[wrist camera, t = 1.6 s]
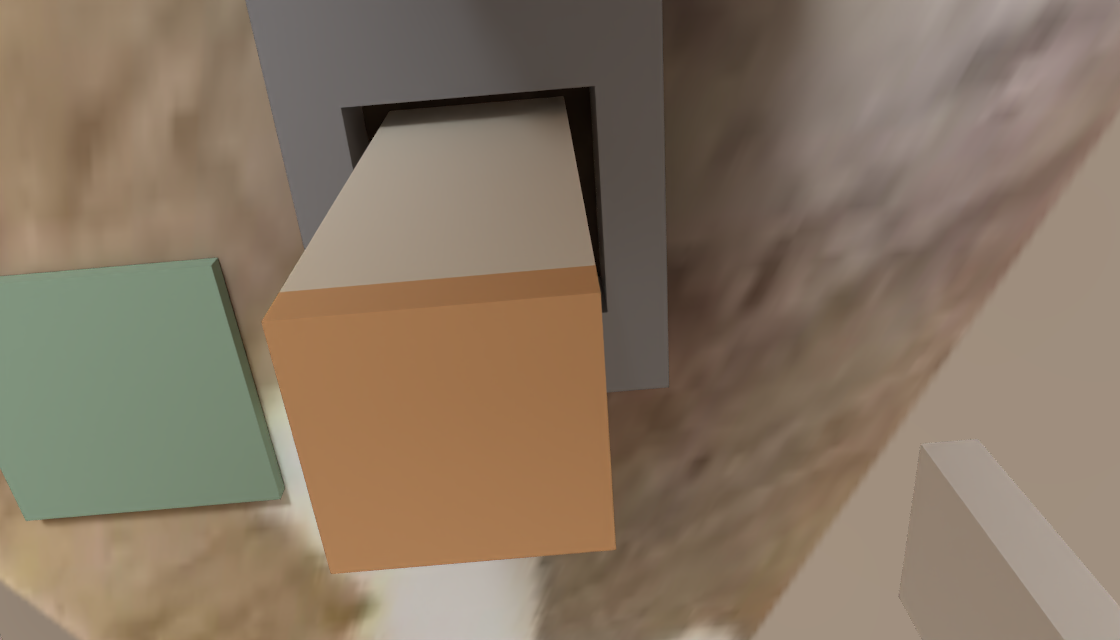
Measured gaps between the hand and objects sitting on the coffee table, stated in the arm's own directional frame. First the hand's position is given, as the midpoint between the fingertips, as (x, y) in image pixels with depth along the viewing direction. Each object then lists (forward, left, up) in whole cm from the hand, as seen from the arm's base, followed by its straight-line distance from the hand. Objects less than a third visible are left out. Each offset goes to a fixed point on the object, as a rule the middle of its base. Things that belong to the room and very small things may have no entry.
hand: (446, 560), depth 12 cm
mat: (+6, -13, -15) cm, 21 cm away
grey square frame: (0, 0, -15) cm, 15 cm away
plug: (0, 0, -15) cm, 15 cm away
